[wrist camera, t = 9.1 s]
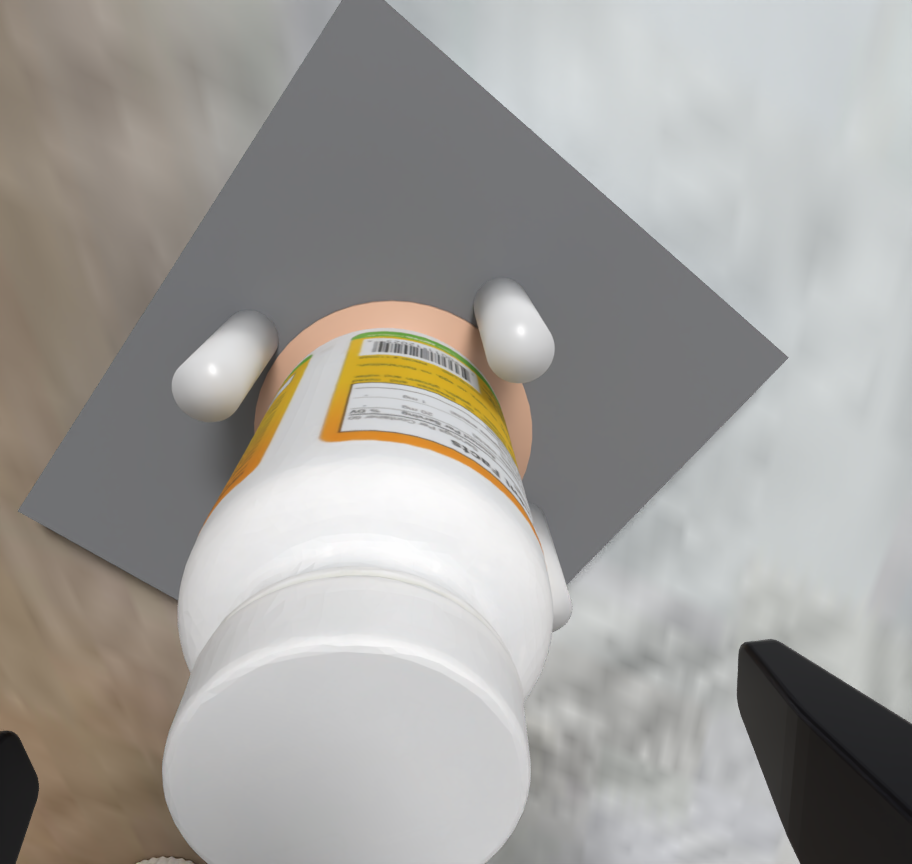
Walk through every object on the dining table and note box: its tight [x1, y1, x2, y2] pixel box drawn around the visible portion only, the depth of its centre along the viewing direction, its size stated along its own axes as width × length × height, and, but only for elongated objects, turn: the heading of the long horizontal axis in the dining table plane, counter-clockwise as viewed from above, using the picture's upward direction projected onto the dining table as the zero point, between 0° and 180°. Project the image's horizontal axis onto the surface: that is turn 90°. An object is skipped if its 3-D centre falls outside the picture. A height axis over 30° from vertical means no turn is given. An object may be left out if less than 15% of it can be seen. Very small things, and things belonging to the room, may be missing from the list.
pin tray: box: [18, 0, 788, 632], centre depth 16 cm, size 14×12×4 cm
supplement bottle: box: [162, 328, 553, 864], centre depth 12 cm, size 5×5×10 cm
